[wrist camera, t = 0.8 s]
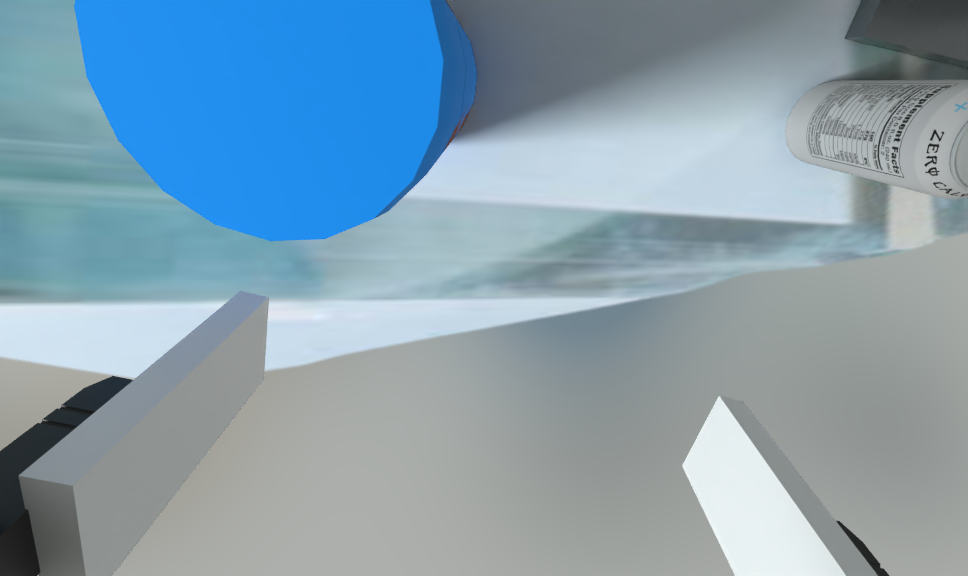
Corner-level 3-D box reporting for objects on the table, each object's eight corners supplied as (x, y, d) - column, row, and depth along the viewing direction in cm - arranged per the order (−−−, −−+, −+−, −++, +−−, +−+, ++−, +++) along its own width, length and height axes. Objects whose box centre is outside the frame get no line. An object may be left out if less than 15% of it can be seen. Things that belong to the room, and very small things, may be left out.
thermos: (507, 63, 36) (527, 31, 13) (426, 177, 40) (331, 306, 17) (386, -40, 34) (156, -298, 11) (311, 90, 37) (17, 103, 14)
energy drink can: (824, 174, 39) (1005, 224, 25) (762, 143, 38) (913, 178, 24) (876, 100, 37) (1105, 111, 23) (811, 66, 36) (1008, 56, 22)
